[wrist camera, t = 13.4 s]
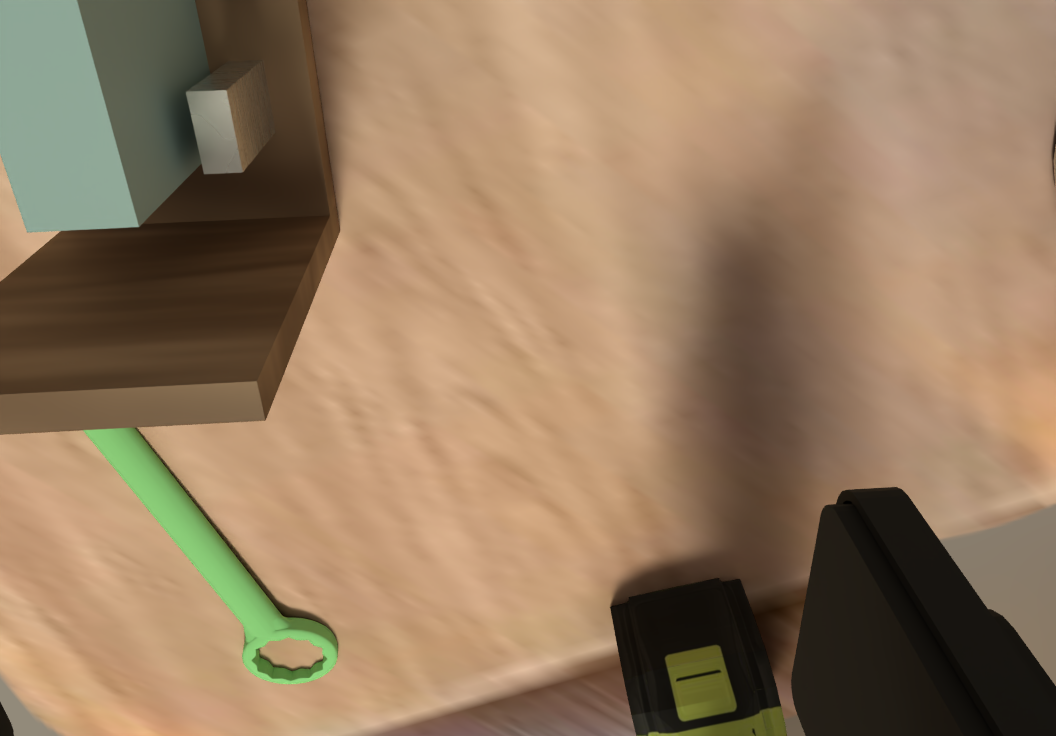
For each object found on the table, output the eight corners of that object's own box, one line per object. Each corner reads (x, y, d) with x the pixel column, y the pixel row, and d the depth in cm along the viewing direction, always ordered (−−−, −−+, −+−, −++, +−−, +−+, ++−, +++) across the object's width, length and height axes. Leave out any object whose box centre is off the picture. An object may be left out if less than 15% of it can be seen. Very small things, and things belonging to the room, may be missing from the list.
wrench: (73, 269, 36) (-30, 317, 37) (53, 287, 34) (-56, 337, 35) (359, 653, 47) (275, 683, 48) (354, 681, 46) (267, 711, 46)
